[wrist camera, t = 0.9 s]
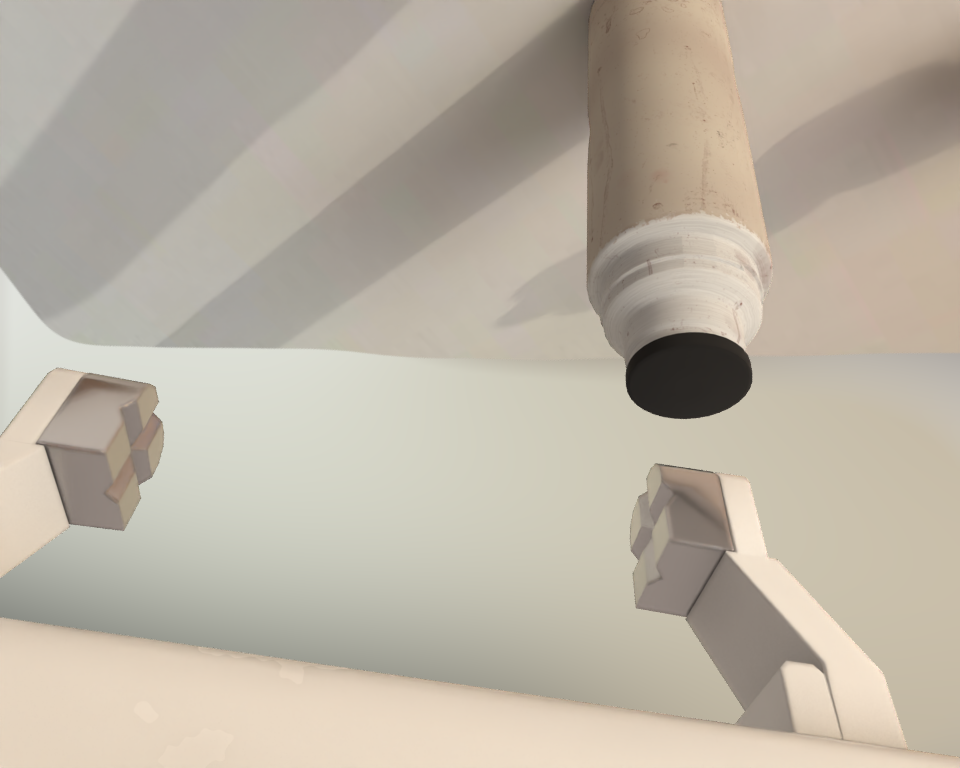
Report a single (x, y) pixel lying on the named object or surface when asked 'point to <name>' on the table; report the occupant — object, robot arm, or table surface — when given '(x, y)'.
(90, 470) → the robot arm
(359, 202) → the table surface
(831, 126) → the table surface
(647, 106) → the thermos bottle
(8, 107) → the table surface
